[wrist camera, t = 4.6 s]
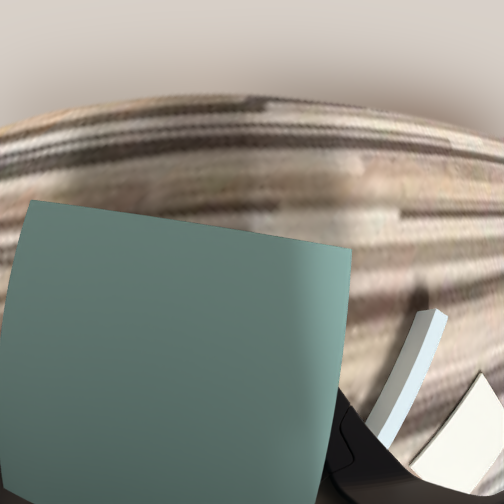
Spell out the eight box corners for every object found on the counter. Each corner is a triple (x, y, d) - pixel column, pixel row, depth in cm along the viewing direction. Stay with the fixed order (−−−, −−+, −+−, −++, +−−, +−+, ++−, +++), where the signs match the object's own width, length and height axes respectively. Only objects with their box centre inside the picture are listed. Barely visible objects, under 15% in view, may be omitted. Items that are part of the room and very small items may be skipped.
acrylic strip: (333, 499, 16) (344, 513, 14) (318, 495, 16) (329, 510, 14) (429, 319, 20) (448, 316, 17) (417, 311, 20) (436, 308, 17)
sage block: (241, 406, 15) (300, 554, 3) (142, 389, 14) (3, 487, 3) (255, 309, 16) (351, 249, 5) (157, 293, 16) (31, 199, 4)
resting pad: (453, 508, 16) (455, 510, 16) (408, 466, 17) (410, 467, 17) (513, 428, 18) (515, 429, 18) (479, 372, 19) (482, 373, 19)
